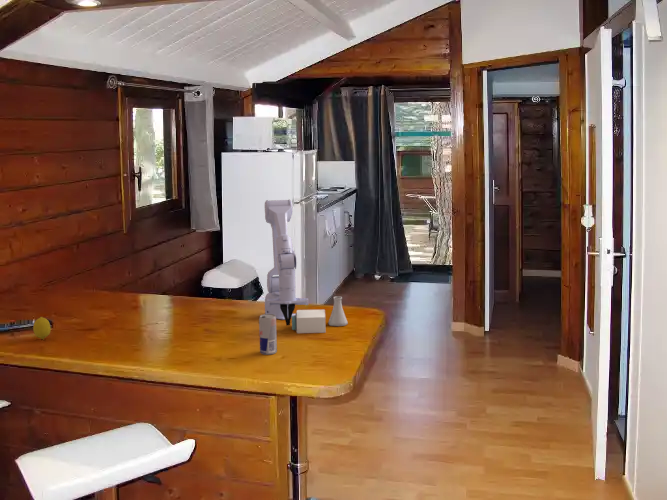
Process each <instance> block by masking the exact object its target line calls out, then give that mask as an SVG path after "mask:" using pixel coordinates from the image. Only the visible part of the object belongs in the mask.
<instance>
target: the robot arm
mask: <svg viewBox="0 0 667 500" xmlns="http://www.w3.org/2000/svg"><path fill="white" fill-rule="evenodd" d="M292 216H293V202H292V200H291V199H289V198H288V199H276V200H269V199H267V200H265V201H264V219H265V222H266V223H268V224H269V225H270V227H271V232H272V234H271V235H272V236H271V237H272V250H273V251H272V252H273V253H272V254H273V268H271V270H269V271H268V272H267V275H266V289H267V293H266V295H265V297H264V314H273V315H275V317H276V320H277V319H278V320H282V321H283V320H285V325H286V326H291V321H292V316H296V313H294V311H295V309H296V305H297V306H298V305H300V306H301V305H304V306H309V298H302V297H301V298H300V297H297V295H296V269H297V264H298V262H297V254H296V252H295V250H294V246H293V239H292V237H291V236H289V232H288V229H289V227H288V223H289V222H290V221H291V219H292Z"/></svg>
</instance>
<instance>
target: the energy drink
mask: <svg viewBox="0 0 667 500" xmlns="http://www.w3.org/2000/svg"><path fill="white" fill-rule="evenodd" d="M258 324H259V325H258V327H259V328H258V329H259V332H258V334H259V352H260V354H261V355H267V356H270V355H274V354H276V353H277V352H278V349H277V348H278V346H277V345H278V343H277V337H278V336H277V319H276V317H275V315H273V314H265V313H264V314H263V313H262V314H260V315H259V317H258Z"/></svg>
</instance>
